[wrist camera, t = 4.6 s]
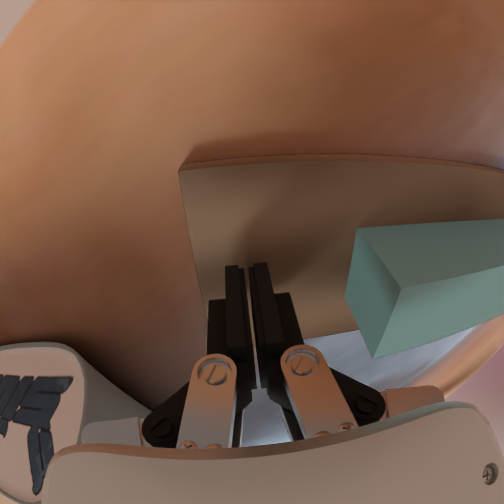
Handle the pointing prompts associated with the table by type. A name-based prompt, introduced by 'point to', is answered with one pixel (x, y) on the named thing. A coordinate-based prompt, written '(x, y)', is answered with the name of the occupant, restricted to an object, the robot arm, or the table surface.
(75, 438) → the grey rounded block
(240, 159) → the end cap board
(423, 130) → the table surface
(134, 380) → the table surface
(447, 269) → the green rectangular block
